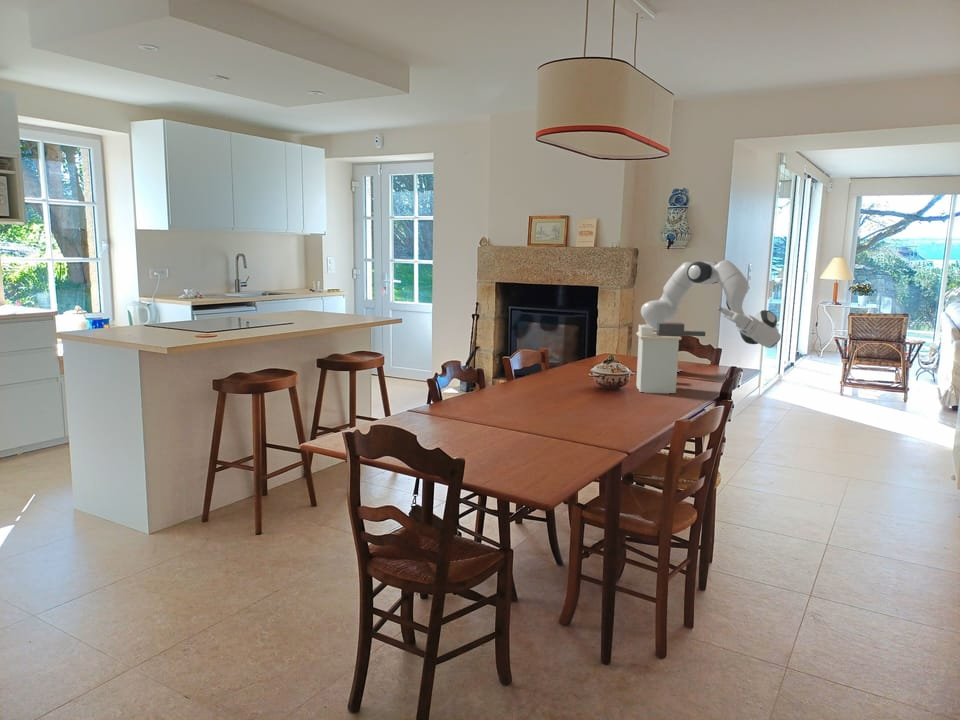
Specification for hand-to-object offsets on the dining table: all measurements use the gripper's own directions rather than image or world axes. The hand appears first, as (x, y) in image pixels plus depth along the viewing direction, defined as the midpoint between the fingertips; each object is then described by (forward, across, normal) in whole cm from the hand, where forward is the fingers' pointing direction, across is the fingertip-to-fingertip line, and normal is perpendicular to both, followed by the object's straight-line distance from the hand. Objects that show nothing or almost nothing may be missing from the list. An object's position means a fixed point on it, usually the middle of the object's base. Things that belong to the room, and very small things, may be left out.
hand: (720, 308), depth 311 cm
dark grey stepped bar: (+9, 0, +20) cm, 22 cm away
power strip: (+22, 0, +28) cm, 36 cm away
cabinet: (+4, 0, +47) cm, 47 cm away
